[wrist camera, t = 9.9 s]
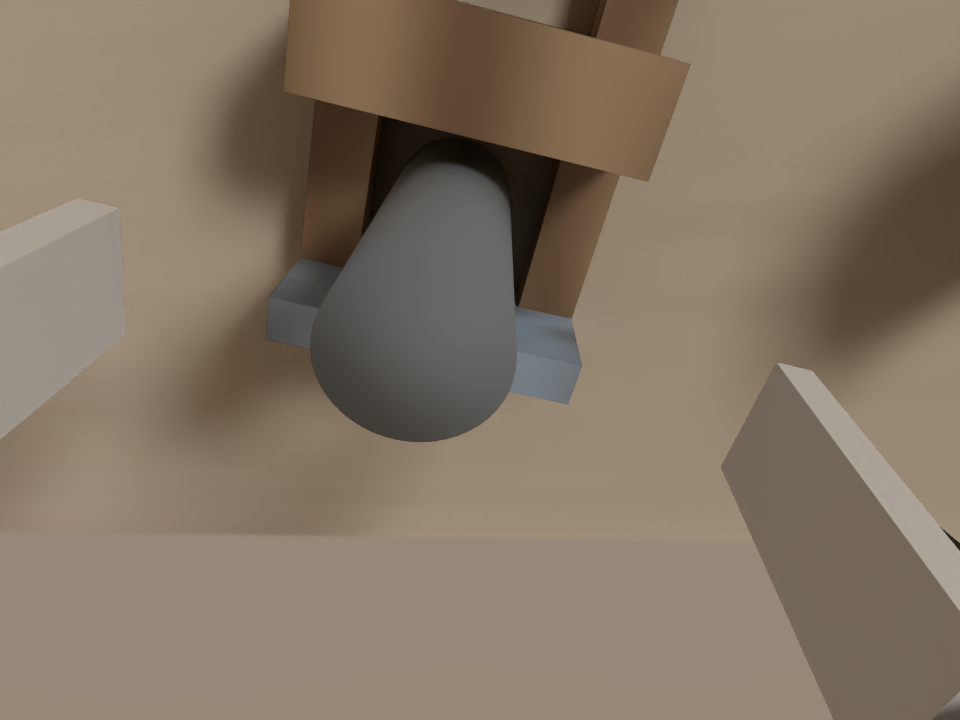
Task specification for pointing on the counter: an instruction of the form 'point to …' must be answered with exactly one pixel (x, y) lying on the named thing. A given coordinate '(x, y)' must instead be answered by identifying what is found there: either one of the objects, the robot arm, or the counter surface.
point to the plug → (425, 302)
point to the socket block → (484, 116)
